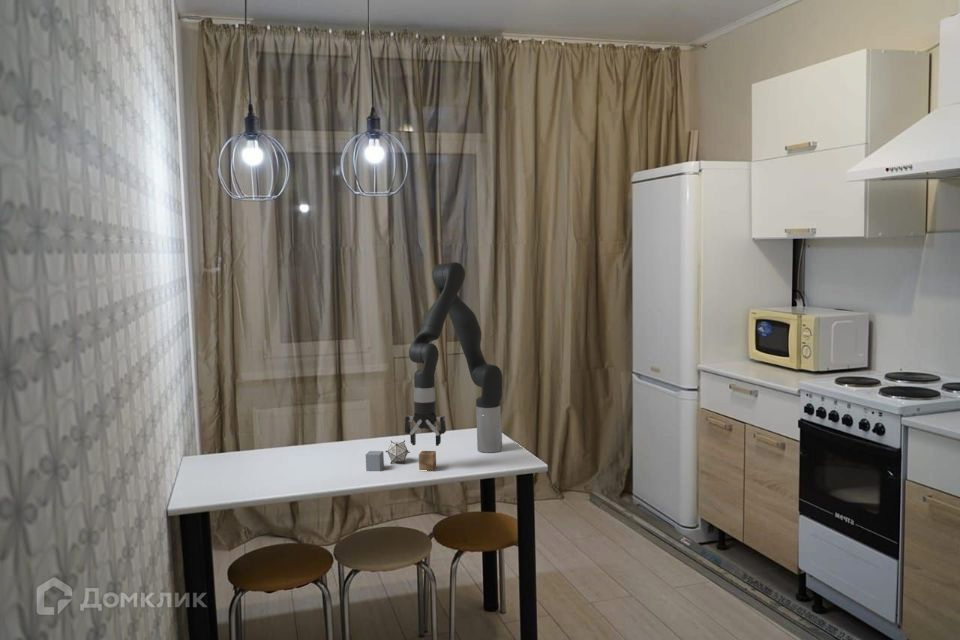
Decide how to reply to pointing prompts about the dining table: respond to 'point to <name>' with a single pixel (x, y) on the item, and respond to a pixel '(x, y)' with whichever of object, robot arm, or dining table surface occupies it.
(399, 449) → the game die
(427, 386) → the robot arm
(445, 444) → the dining table surface
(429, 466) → the walnut block
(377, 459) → the slate block
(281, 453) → the dining table surface
